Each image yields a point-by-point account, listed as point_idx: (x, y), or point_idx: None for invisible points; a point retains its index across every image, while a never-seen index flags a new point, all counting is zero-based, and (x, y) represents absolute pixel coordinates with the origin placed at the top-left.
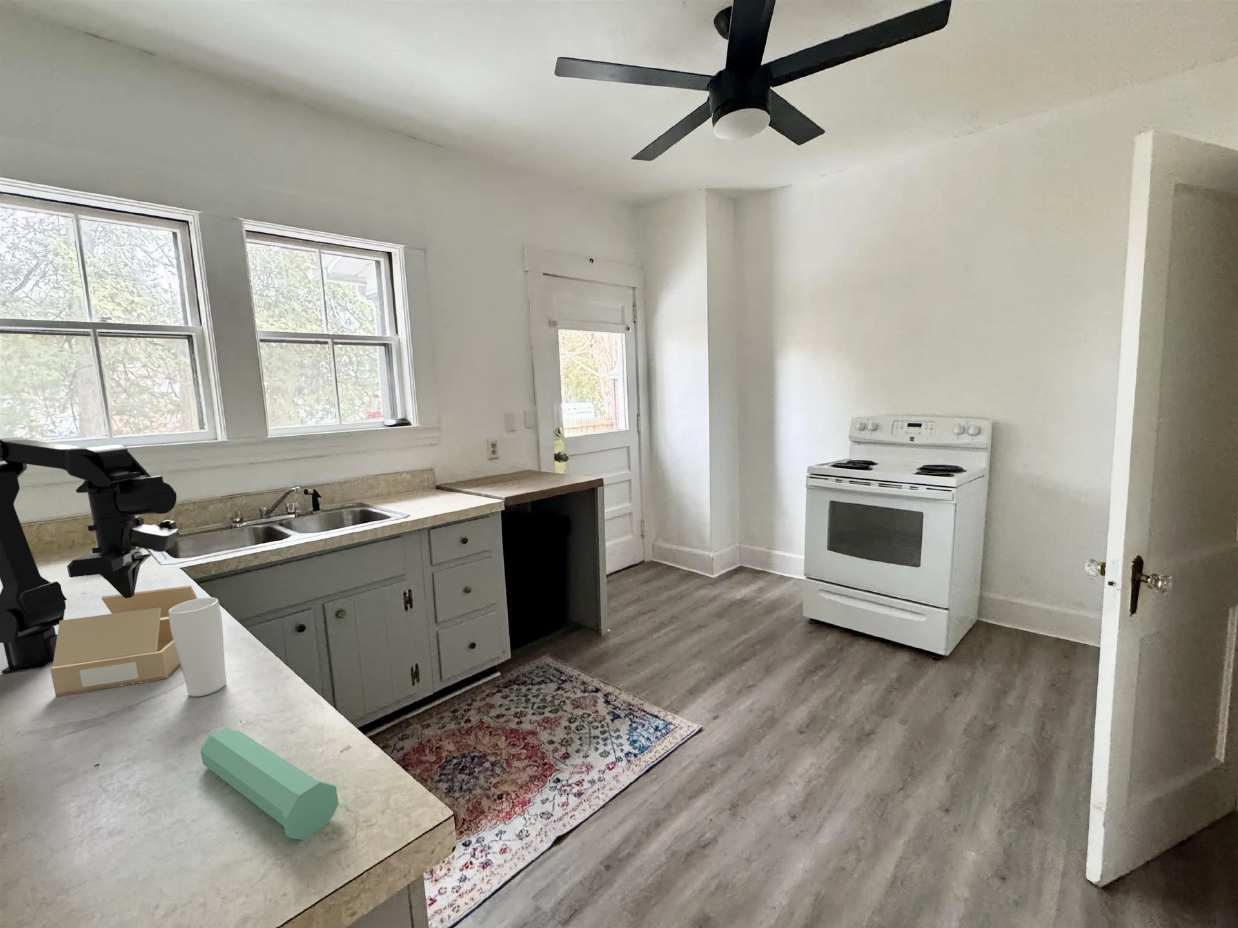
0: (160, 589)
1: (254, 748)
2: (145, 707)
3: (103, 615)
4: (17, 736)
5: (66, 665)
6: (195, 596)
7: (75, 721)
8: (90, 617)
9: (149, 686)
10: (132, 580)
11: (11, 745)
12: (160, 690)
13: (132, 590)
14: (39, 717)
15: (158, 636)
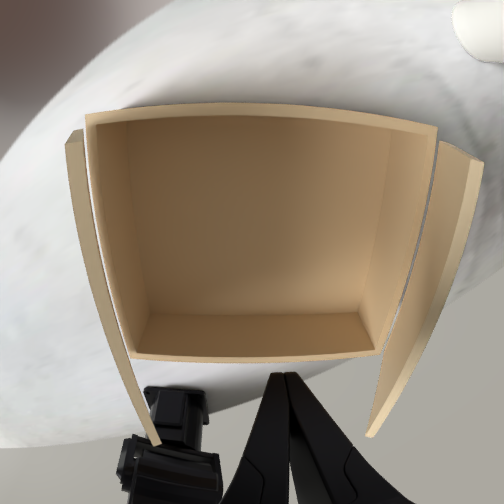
0: (99, 306)
1: None
2: (492, 126)
3: (416, 362)
4: (471, 284)
5: (381, 335)
6: (78, 134)
7: (479, 226)
8: (402, 389)
9: None
10: (311, 449)
11: (489, 276)
12: (445, 116)
13: (294, 396)
14: None
15: (131, 245)
